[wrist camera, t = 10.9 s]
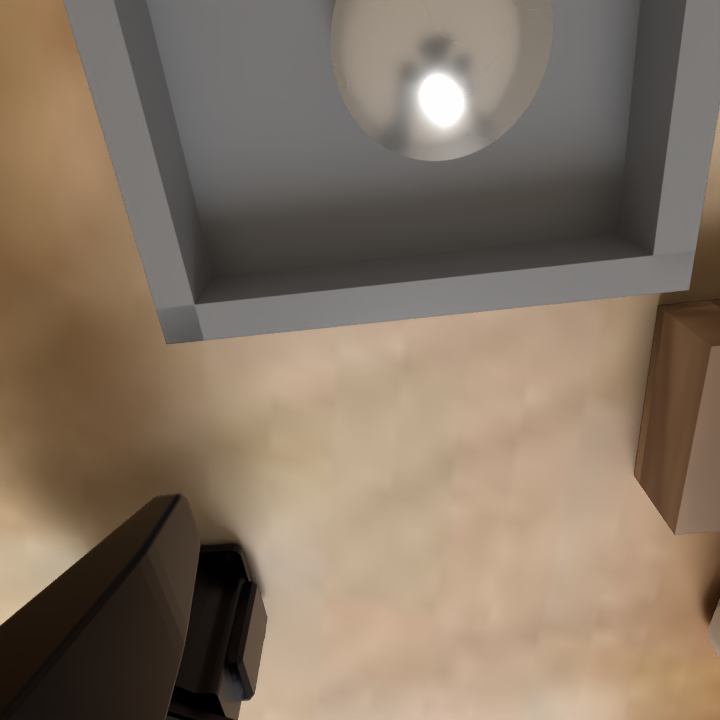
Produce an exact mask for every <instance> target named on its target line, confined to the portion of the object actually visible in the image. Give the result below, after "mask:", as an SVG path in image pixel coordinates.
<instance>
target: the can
mask: <svg viewBox="0 0 720 720" xmlns="http://www.w3.org/2000/svg"><path fill="white" fill-rule="evenodd" d="M709 635H710V643H711V644H712V646H713V648H714V649H715V651H716V653H717V654H718V656H719V657H720V599H719V602H718V604H717V607H716V610H715V612H714V615H713V618H712V620H711V623H710V626H709Z"/></svg>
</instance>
